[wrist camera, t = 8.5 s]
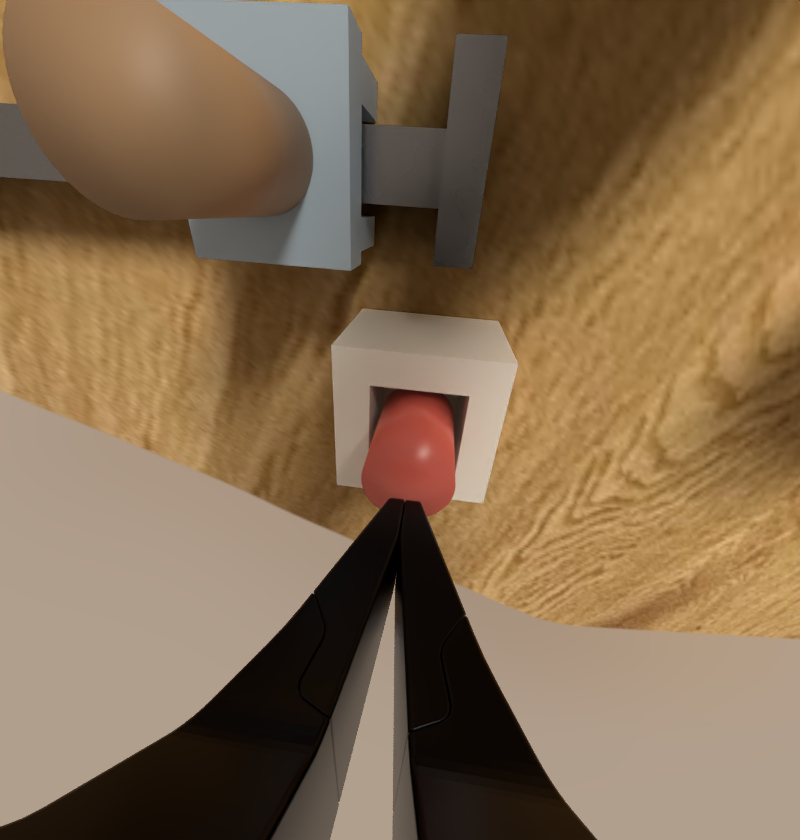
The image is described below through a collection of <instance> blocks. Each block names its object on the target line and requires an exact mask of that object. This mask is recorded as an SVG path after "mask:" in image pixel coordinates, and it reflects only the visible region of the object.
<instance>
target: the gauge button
mask: <svg viewBox="0 0 800 840" xmlns="http://www.w3.org/2000/svg"><path fill="white" fill-rule="evenodd" d="M361 483H362V487H363V490H364V492H365V494H366V496H367V497H368V498H369V500H370V501H371V502H372V503H373V504H374V505H376V506H377V507H378V508H380V509H381V508H382V506H383V505H384V504H385V503H386V501H387V500H388V499H389V498H398V499H403V500H404V501H406V500H414V501H420V502H421V504H422V506H423V508H424V511H425V513H426V516H429V515H432V514H435V513H437V512H439V511H440V510H442V509H443V508H444V507H446V505H447V504H448V503H449V502H450V501H451V499H452V497H453V495H454V492H455V486H456V484H455V450H454V416H453V409H452V406H451V403H450V402H449V400H448V399H447V397H446V396H445V395H444V394H443V393H434V392H425V391H415V390H406V389H396V390H395V391H393V392H392V393H391V394H390V395H389V396H388V397H387V399H386V401H385V403H384V405H383V408H382V411H381V415H380V418H379V421H378V424H377V427H376V430H375V433H374V436H373V439H372V442H371V445H370V448H369V451H368V454H367V457H366V460H365V463H364V467H363V470H362V473H361Z"/></svg>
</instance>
